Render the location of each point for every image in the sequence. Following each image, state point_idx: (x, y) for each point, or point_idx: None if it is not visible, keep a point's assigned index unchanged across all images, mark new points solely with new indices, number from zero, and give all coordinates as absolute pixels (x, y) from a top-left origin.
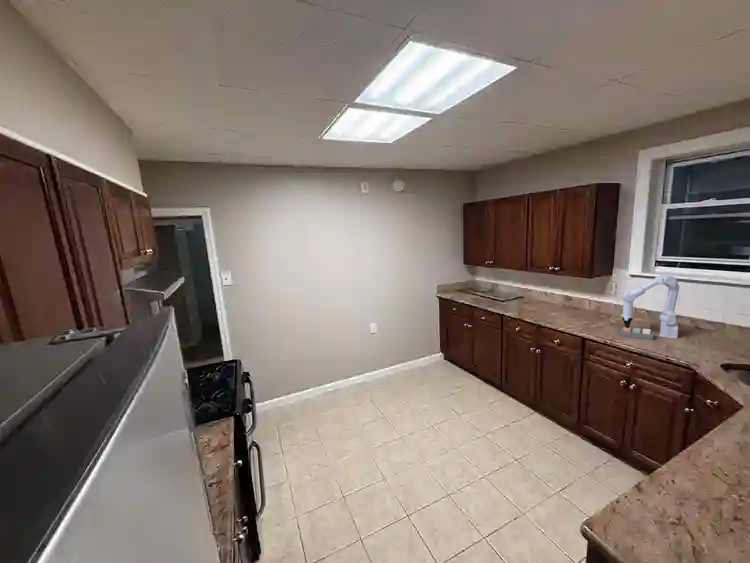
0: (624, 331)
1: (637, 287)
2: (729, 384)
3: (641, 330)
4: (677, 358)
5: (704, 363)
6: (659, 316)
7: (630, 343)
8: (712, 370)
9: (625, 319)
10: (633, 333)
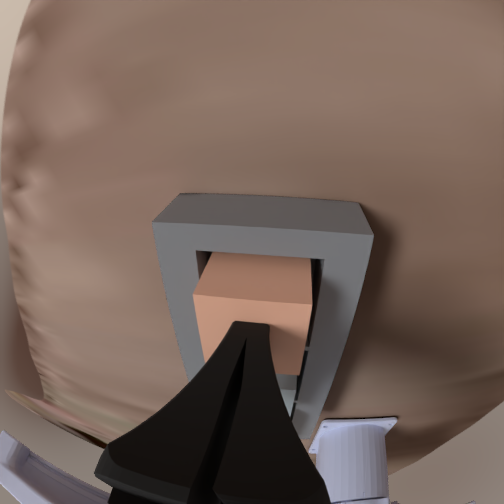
0: (185, 277)
1: None
2: (17, 398)
3: (325, 399)
4: (49, 389)
5: (72, 419)
6: None
7: (50, 282)
8: (47, 410)
9: (4, 451)
10: (182, 346)
